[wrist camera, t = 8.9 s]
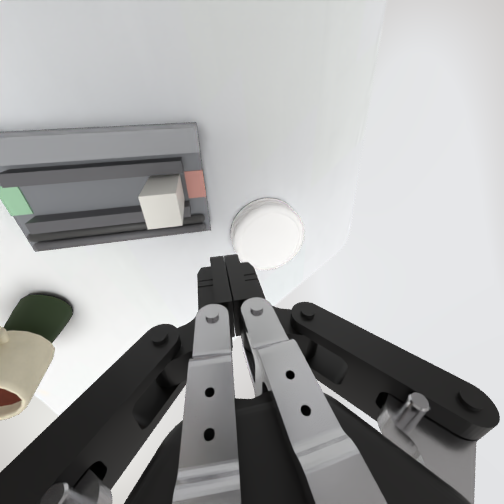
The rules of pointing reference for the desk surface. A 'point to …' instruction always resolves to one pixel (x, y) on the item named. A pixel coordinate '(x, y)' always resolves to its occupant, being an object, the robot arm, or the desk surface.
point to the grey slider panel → (97, 182)
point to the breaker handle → (162, 201)
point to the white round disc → (267, 234)
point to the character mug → (28, 349)
